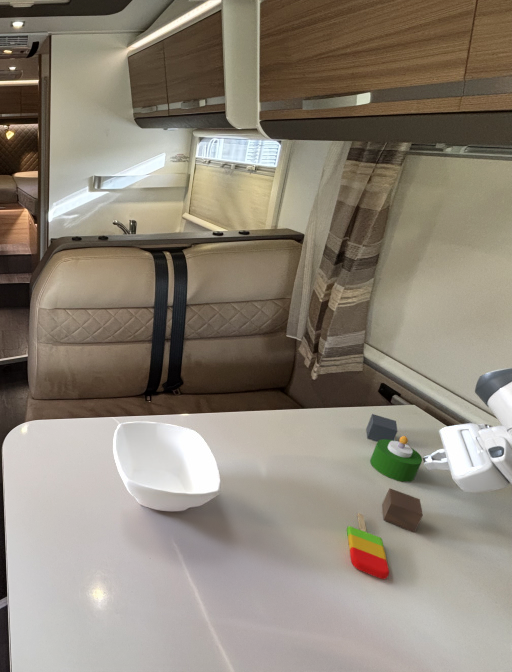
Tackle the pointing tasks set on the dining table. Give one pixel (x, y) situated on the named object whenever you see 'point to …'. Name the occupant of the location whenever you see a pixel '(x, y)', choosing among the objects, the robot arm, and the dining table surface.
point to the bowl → (165, 465)
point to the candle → (396, 459)
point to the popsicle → (367, 551)
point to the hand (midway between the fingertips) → (425, 463)
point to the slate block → (381, 428)
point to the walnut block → (402, 510)
